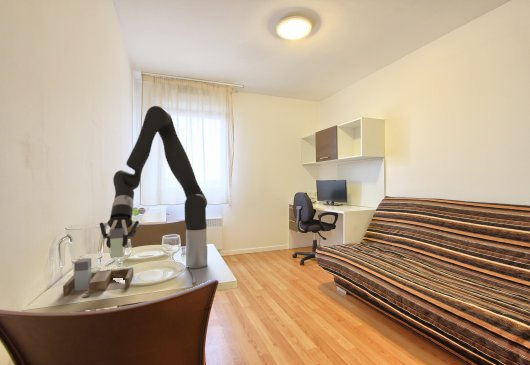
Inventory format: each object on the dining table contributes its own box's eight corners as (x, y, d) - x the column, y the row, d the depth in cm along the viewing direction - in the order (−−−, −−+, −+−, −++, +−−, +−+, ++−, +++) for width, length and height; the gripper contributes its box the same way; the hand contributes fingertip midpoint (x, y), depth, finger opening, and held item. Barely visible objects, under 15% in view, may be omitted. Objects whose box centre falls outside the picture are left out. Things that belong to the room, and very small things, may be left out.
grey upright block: (124, 253, 97) (124, 227, 97) (122, 256, 93) (122, 229, 93) (112, 254, 96) (112, 228, 95) (110, 258, 92) (110, 230, 91)
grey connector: (91, 284, 93) (91, 258, 93) (88, 289, 90) (87, 261, 89) (78, 286, 92) (78, 259, 92) (74, 291, 88) (74, 262, 88)
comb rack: (133, 278, 102) (133, 267, 102) (129, 290, 91) (128, 277, 91) (75, 285, 95) (75, 273, 95) (63, 299, 85) (63, 285, 85)
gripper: (100, 203, 98) (91, 242, 87) (140, 202, 103) (137, 239, 92) (104, 215, 103) (96, 253, 92) (142, 213, 108) (139, 249, 97)
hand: (116, 246), depth 92 cm, fingers closed on grey upright block, 4 cm apart
